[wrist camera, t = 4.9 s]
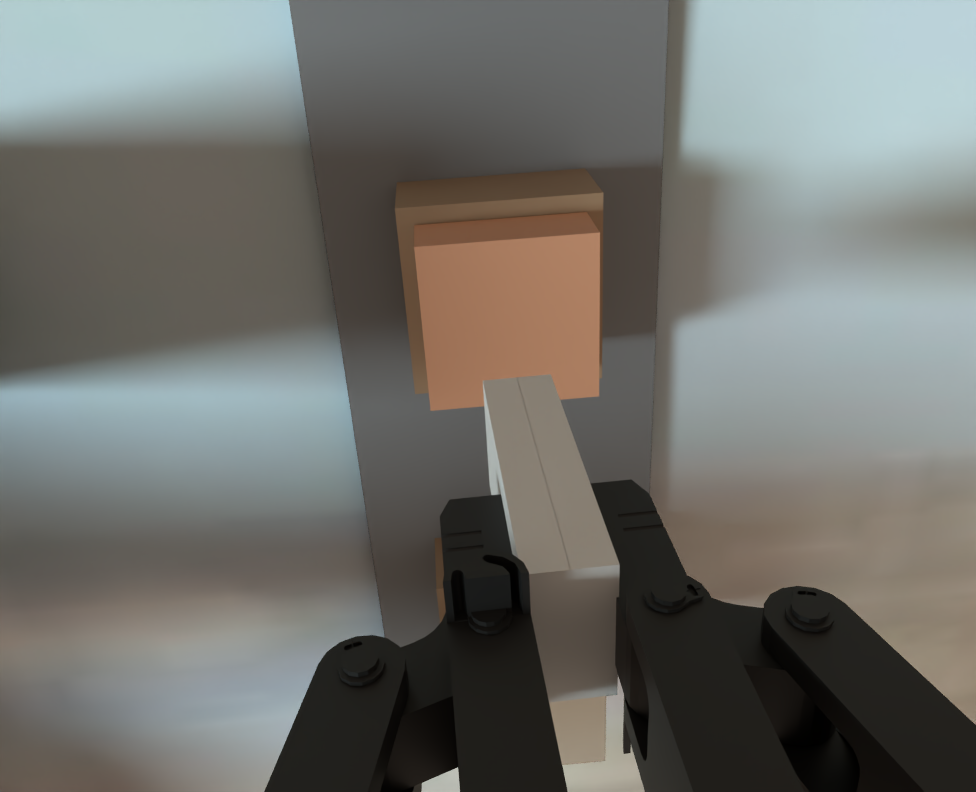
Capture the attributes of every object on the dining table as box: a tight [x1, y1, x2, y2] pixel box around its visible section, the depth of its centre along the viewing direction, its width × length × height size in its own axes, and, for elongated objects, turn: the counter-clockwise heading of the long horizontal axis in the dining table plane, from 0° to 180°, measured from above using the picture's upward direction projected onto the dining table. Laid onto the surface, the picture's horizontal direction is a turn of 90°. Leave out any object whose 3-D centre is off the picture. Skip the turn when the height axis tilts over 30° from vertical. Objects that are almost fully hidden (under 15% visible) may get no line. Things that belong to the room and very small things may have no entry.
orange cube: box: [414, 212, 600, 411], centre depth 26 cm, size 5×5×5 cm
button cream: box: [549, 696, 606, 765], centre depth 32 cm, size 5×5×5 cm
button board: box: [289, 0, 669, 647], centre depth 28 cm, size 11×35×4 cm, turn 3°
